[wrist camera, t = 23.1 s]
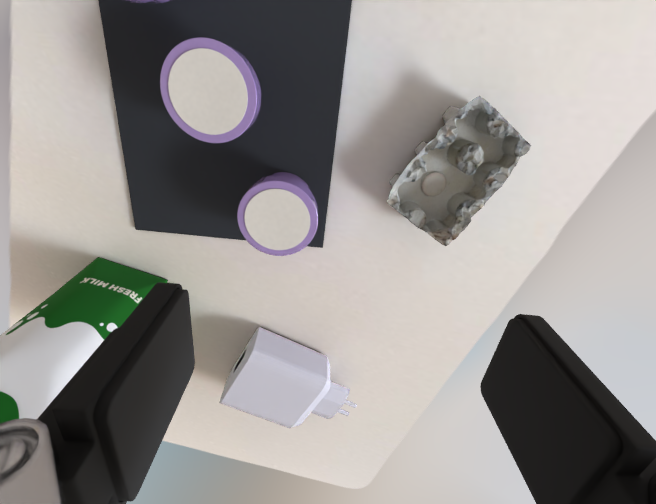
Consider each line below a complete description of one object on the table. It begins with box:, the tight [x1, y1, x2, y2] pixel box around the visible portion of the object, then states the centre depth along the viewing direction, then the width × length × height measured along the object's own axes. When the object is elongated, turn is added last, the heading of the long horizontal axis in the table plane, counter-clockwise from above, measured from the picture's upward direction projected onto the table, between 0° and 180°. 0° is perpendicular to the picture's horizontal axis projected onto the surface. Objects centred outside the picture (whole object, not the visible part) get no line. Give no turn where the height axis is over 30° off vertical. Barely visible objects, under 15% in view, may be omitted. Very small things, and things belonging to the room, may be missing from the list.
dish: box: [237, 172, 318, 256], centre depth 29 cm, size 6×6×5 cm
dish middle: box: [160, 37, 261, 143], centre depth 24 cm, size 6×6×5 cm
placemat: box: [99, 0, 352, 248], centre depth 27 cm, size 26×18×1 cm
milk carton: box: [0, 257, 168, 423], centre depth 27 cm, size 9×9×20 cm
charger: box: [219, 327, 357, 428], centre depth 39 cm, size 5×9×15 cm
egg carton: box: [386, 96, 531, 246], centre depth 28 cm, size 11×8×4 cm
